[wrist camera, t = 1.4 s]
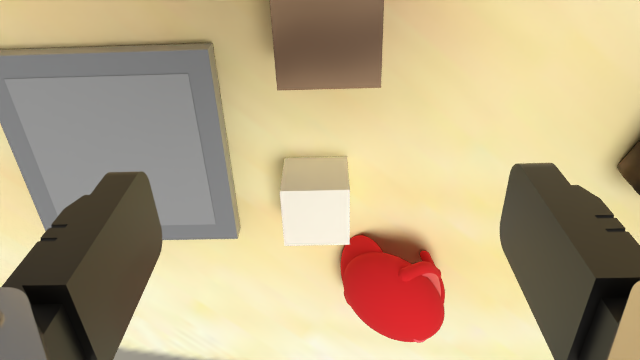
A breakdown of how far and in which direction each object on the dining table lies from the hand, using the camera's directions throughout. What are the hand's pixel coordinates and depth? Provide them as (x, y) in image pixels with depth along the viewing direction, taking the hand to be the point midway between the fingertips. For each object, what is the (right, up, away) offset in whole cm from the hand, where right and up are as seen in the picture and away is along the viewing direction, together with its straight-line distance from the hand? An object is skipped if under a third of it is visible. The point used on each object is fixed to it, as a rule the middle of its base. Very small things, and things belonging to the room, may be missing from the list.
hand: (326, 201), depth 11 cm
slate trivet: (-12, +2, +20) cm, 24 cm away
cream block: (0, 0, +21) cm, 21 cm away
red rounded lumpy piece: (+5, -6, +25) cm, 26 cm away
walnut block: (0, +10, +15) cm, 18 cm away
